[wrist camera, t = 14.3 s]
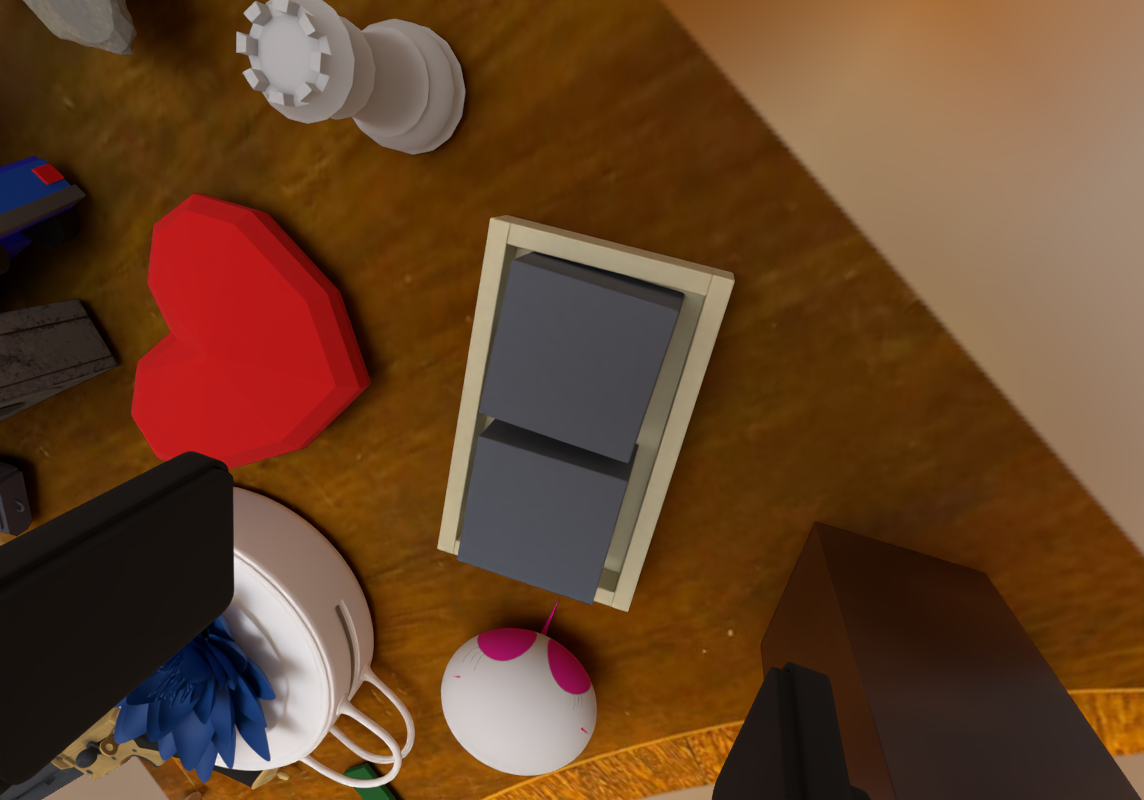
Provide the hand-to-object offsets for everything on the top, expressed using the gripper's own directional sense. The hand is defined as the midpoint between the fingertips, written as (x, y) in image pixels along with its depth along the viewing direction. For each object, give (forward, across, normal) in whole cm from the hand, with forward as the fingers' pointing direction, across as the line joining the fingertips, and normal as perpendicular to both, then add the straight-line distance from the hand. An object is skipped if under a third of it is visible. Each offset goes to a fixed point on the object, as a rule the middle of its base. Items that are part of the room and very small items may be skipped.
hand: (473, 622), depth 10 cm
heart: (+16, +16, +4) cm, 23 cm away
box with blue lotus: (+16, +15, +21) cm, 31 cm away
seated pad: (+16, +2, +7) cm, 17 cm away
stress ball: (+16, 0, +16) cm, 23 cm away
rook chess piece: (+17, +11, -8) cm, 21 cm away
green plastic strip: (+16, +6, +32) cm, 36 cm away
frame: (+16, +2, +4) cm, 17 cm away
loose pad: (+16, +2, 0) cm, 16 cm away
